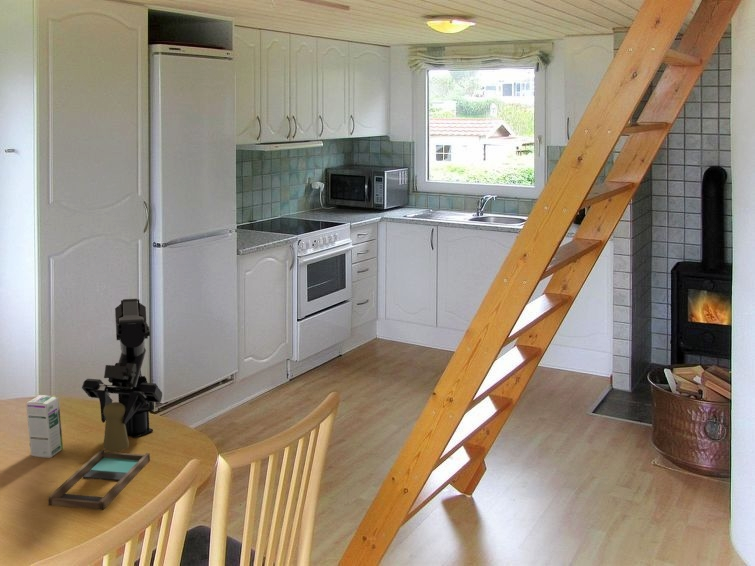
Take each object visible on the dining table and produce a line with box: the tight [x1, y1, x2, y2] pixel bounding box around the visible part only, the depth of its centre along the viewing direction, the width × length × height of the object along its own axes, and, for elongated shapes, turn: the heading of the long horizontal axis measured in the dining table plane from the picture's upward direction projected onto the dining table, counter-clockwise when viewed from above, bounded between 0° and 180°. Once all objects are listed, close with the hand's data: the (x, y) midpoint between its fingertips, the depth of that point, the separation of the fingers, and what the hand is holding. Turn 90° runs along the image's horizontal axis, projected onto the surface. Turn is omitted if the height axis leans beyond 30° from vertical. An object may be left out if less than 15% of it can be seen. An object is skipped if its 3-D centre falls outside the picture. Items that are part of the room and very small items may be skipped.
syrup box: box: [25, 394, 64, 459], centre depth 227 cm, size 6×6×14 cm
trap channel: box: [47, 449, 151, 511], centre depth 213 cm, size 26×13×2 cm, turn 171°
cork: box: [102, 401, 130, 453], centre depth 219 cm, size 6×6×11 cm
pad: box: [91, 457, 139, 473], centre depth 221 cm, size 7×10×1 cm
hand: (113, 422), depth 218 cm, fingers closed on cork, 5 cm apart
